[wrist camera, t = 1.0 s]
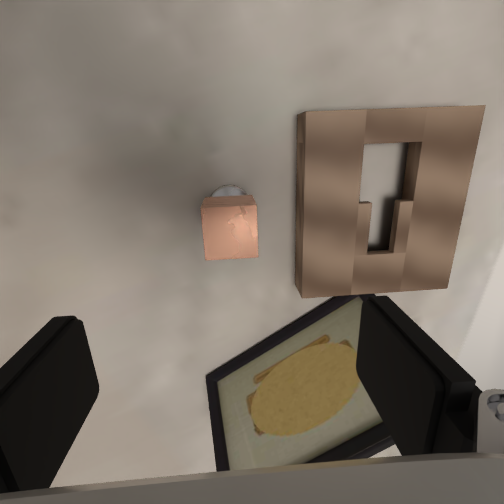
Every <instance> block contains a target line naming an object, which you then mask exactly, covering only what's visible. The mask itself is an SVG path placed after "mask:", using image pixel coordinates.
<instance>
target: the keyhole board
mask: <svg viewBox="0 0 504 504" xmlns="http://www.w3.org/2000/svg"><path fill="white" fill-rule="evenodd" d="M485 106H486V105H478V106H449V107H420V108H391V109H362V110H334V111H306V112H304V113H301V114H299V115H297V183H296V256H295V285H296V287H297V289H298V291H299V293H300V295H301V297H302V298H315V297H329V296H344V295H358V294H373V293H387V292H402V291H416V290H431V289H446V288H447V287H448V282H449V278H450V273H451V268H452V263H453V258H454V254H455V249H456V244H457V239H458V235H459V230H460V225H461V220H462V216H463V211H464V206H465V201H466V197H467V192H468V187H469V182H470V177H471V173H472V168H473V163H474V158H475V154H476V149H477V144H478V139H479V135H480V130H481V125H482V120H483V116H484V111H485ZM398 142H409V146H408V154H407V161H406V169H405V176H404V183H403V191H402V198H401V200H395V204H394V212H393V220H392V228H391V235H390V243H389V250H380V251H367V248H368V238H369V228H370V219H371V209H372V203H370V202H368V201H364V202H359V196H360V184H361V173H362V161H363V150H364V144H374V143H398Z"/></svg>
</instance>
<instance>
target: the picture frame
mask: <svg viewBox="0 0 504 504" xmlns="http://www.w3.org/2000/svg"><path fill="white" fill-rule="evenodd" d="M371 296H376V295H375V294H374V293H373V294H358V295H344V296H337V297H335V298H334V299H332V300H330V301H329V302H327V303H325V304H324V305H322V306H321V307H319V308H317V309H316V310H314V311H312V312H311V313H309V314H308V315H306V316H304V317H303V318H301V319H299V320H298V321H296V322H294V323H293V324H291V325H290V326H288V327H286V328H285V329H283V330H281V331H280V332H278V333H277V334H275V335H273V336H272V337H270V338H268V339H267V340H265V341H263V342H262V343H260V344H259V345H257V346H255V347H254V348H252V349H250V350H249V351H247V352H246V353H244V354H242V355H241V356H239V357H237V358H236V359H234V360H233V361H231V362H229V363H228V364H226V365H224V366H223V367H221V368H219V369H218V370H216V371H215V372H213V373H211V374H210V375H208V376H206V384H207V393H208V401H209V410H210V419H211V427H212V436H213V444H214V453H215V461H216V470H217V472H220V471H231V470H242V469H253V468H264V467H274V466H286V465H297V464H309V463H321V462H332V461H344V460H355V459H367V458H369V457H371V456H373V455H375V454H377V453H379V452H381V451H383V450H385V449H387V448H388V447H390V446H392V445H394V444H395V442H394V440H393V439H392V437H391V435H390V433H389V431H388V430H387V428H386V426H385V424H384V422H383V421H382V419H381V417H380V415H379V413H378V412H377V410H376V408H375V406H374V404H373V403H372V401H371V399H370V397H369V395H368V394H367V392H366V390H365V388H364V386H363V384H362V383H361V381H360V379H359V377H358V375H357V372H356V358H357V348H358V338H359V328H360V318H361V308H362V303H363V302H364V301H367V298H368V297H371Z"/></svg>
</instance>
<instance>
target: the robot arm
mask: <svg viewBox="0 0 504 504" xmlns="http://www.w3.org/2000/svg"><path fill="white" fill-rule="evenodd" d="M356 372H357V375H358V377H359V379H360V381H361V383H362V384H363V386H364V388H365V390H366V392H367V394H368V395H369V397H370V399H371V401H372V403H373V404H374V406H375V408H376V410H377V412H378V413H379V415H380V417H381V419H382V421H383V422H384V424H385V426H386V428H387V430H388V431H389V433H390V435H391V437H392V439H393V440H394V442H395V444H396V446H397V448H398V449H399V451H400V453H401V455H402V456H393V457H379V458H367V459H355V460H344V461H332V462H321V463H309V464H297V465H286V466H274V467H264V468H253V469H242V470H231V471H220V472H209V473H199V474H188V475H177V476H167V477H156V478H145V479H135V480H125V481H115V482H105V483H95V484H85V485H75V486H65V487H55V488H49V487H50V485H51V483H52V482H53V480H54V478H55V476H56V474H57V472H58V470H59V468H60V466H61V465H62V463H63V461H64V459H65V457H66V455H67V453H68V451H69V449H70V448H71V446H72V444H73V442H74V440H75V438H76V436H77V434H78V433H79V431H80V429H81V427H82V425H83V423H84V421H85V419H86V417H87V416H88V414H89V412H90V410H91V408H92V406H93V404H94V402H95V401H96V399H97V396H98V393H99V383H98V379H97V375H96V371H95V367H94V364H93V360H92V356H91V352H90V348H89V344H88V340H87V336H86V332H85V329H84V325H83V322H82V321H81V320H78V319H77V318H76V316H59V317H54V318H52V319H51V320H50V321H49V322H48V323H47V324H46V325H45V326H44V327H43V328H42V329H41V330H40V331H38V332H37V333H36V334H35V335H34V336H33V337H32V338H31V339H30V340H29V341H28V342H27V343H26V344H25V345H24V346H23V347H22V348H21V349H20V350H19V351H18V352H17V353H16V354H15V355H14V356H13V357H12V358H10V359H9V360H8V361H7V362H6V363H5V364H4V365H3V366H2V367H1V368H0V504H504V390H501V389H491V390H486V391H484V392H482V391H481V390H480V389H479V388H478V387H477V386H476V385H475V383H476V381H475V379H473V378H472V377H471V376H470V375H469V374H468V373H467V372H466V371H465V370H464V369H463V368H462V367H461V366H460V365H459V364H458V363H457V362H456V361H455V360H454V359H453V358H452V357H450V356H449V355H448V354H447V353H446V352H445V351H444V350H443V349H442V348H441V347H440V346H439V345H438V344H437V343H436V342H435V341H434V340H433V339H432V338H431V337H430V336H428V335H427V334H426V333H425V332H424V331H423V330H422V329H421V328H420V327H419V326H418V325H417V324H416V323H415V322H414V321H413V320H412V319H411V318H410V317H409V316H408V315H406V314H405V313H404V312H403V311H402V310H401V309H400V308H399V307H398V306H397V305H396V304H395V303H394V302H393V301H392V300H391V299H390V298H389V297H387V296H371V297H368V298H367V301H364V302H363V303H362V308H361V318H360V328H359V338H358V348H357V358H356Z"/></svg>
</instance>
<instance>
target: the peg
mask: <svg viewBox="0 0 504 504" xmlns="http://www.w3.org/2000/svg"><path fill="white" fill-rule="evenodd" d="M200 209H201V219H202V230H203V240H204V250H205V260H221V259H238V258H254V257H258V231H257V205H256V202H255V200H254V198H253V196H252V195H248V194H247V193H246V192H245V191H244V190H243V189H242V188H240V187H238V186H235V185H225V186H222V187H220V188H218V189H217V190H215V191H214V193H213V194H212V196H211V197H205V199H204V201H203V203H202V205H201V208H200Z"/></svg>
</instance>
